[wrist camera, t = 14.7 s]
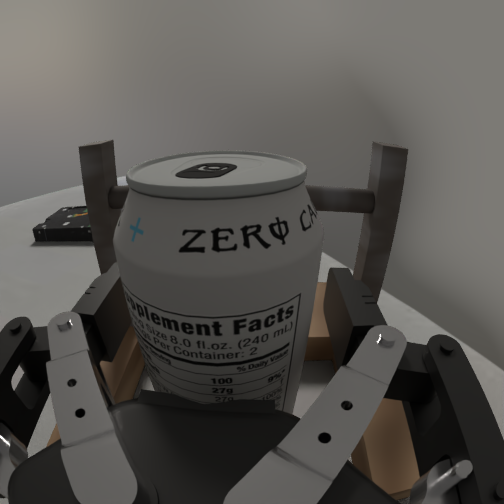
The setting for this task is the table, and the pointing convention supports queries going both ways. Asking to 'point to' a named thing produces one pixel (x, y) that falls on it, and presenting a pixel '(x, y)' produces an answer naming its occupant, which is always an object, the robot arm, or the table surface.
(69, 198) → the table surface
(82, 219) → the disk drive
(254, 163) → the energy drink can
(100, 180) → the wooden crossbar stand
